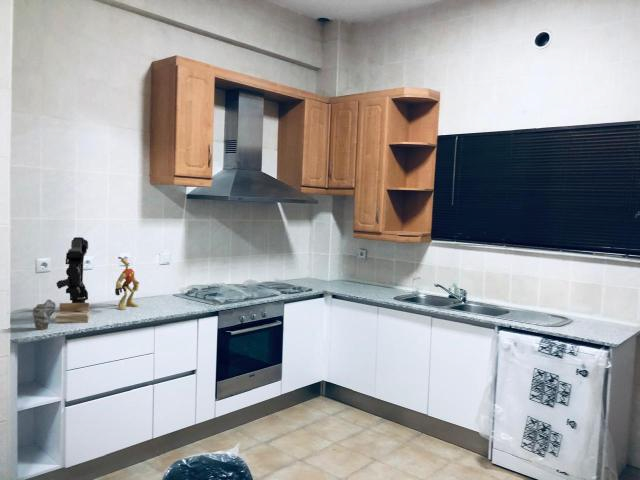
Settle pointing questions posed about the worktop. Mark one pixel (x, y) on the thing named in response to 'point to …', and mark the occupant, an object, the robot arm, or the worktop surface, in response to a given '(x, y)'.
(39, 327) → the rock
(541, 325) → the worktop surface
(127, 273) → the toy
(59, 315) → the plywood box
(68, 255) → the robot arm
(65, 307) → the flap
